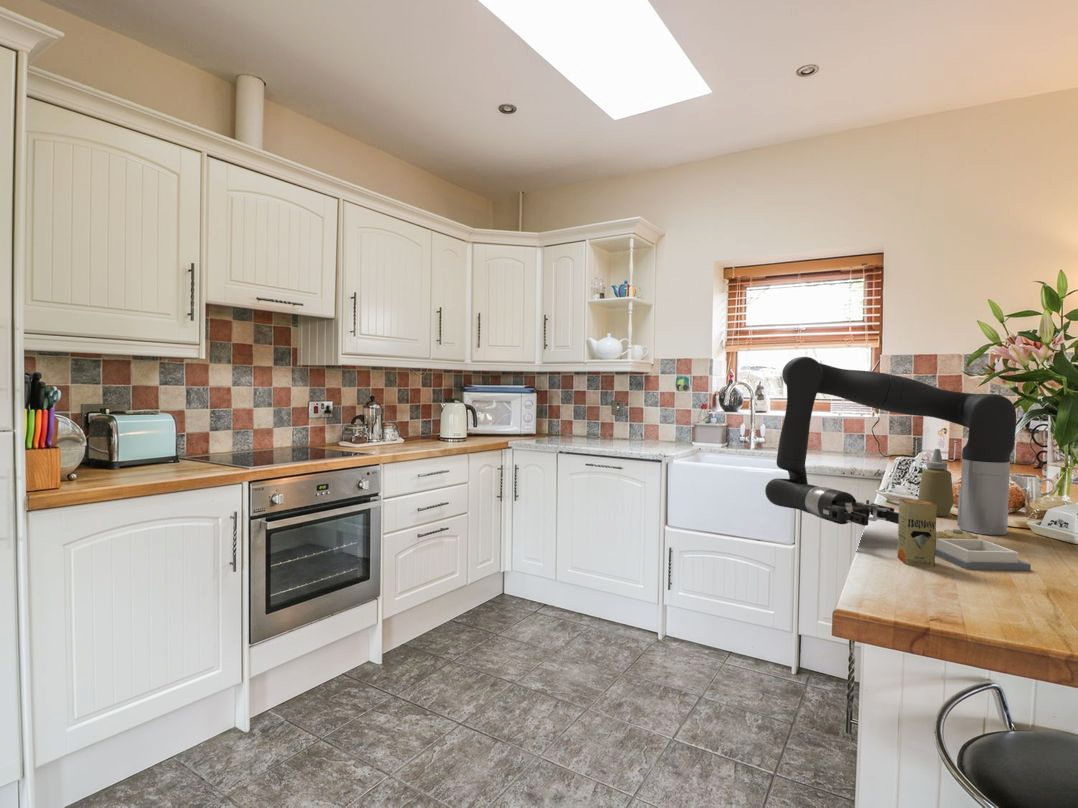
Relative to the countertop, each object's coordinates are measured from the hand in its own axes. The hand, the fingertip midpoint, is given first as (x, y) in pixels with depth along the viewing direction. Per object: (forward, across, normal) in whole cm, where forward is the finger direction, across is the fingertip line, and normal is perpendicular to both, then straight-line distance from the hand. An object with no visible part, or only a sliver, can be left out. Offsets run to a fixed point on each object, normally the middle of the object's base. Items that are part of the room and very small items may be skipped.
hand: (884, 520), depth 123 cm
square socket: (+10, +13, +5) cm, 17 cm away
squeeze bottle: (-27, +42, +7) cm, 51 cm away
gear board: (+6, +14, +6) cm, 16 cm away
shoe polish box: (+8, 0, +7) cm, 10 cm away
